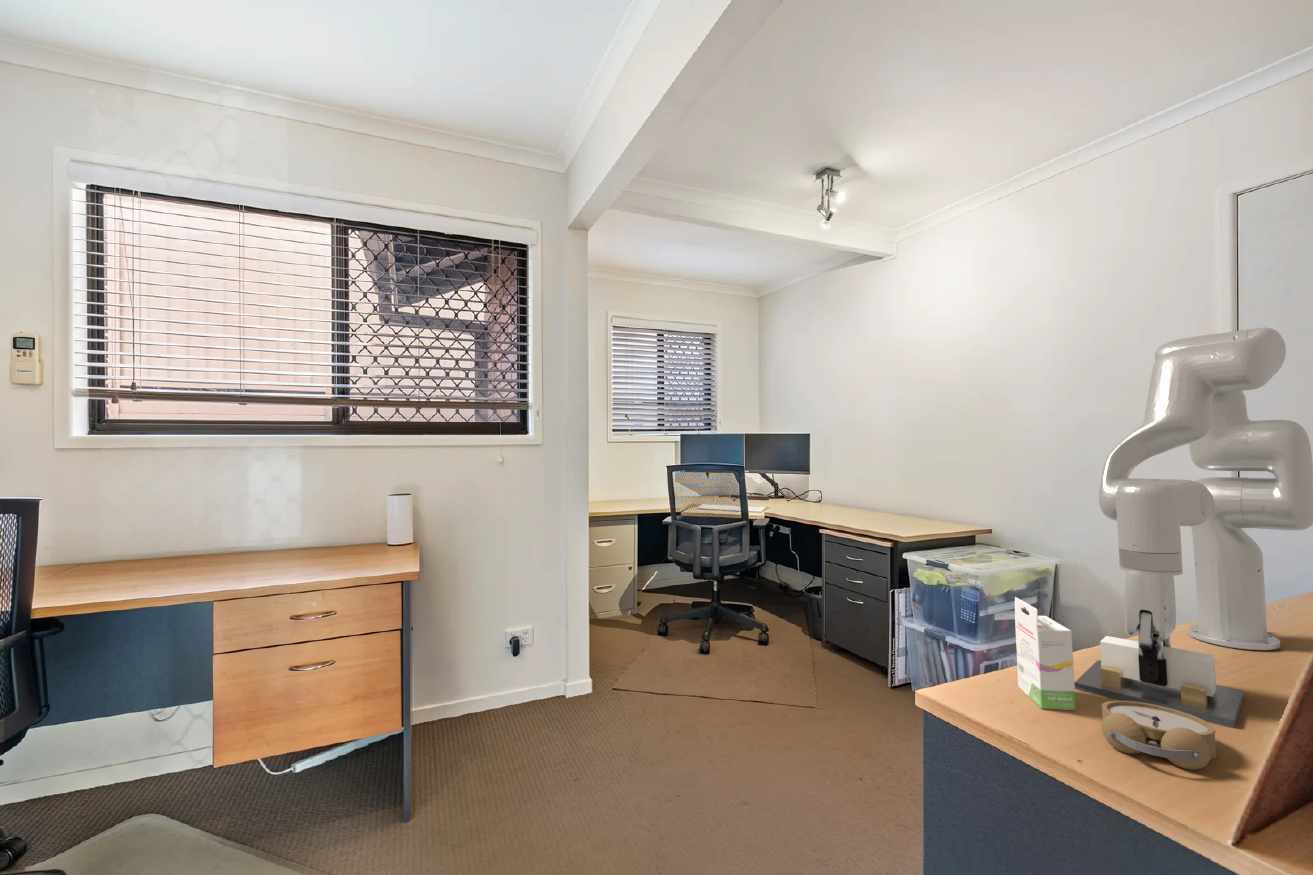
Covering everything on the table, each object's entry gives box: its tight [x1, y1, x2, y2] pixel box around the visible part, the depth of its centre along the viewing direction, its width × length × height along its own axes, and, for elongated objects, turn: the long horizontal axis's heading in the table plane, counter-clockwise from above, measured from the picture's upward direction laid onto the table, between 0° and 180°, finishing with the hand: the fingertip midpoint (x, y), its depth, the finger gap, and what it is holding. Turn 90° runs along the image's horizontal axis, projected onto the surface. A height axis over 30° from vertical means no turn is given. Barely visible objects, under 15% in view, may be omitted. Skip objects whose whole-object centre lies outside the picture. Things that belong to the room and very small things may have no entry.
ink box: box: [1014, 596, 1077, 711], centre depth 88 cm, size 9×5×15 cm, turn 168°
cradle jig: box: [1074, 659, 1246, 729], centre depth 89 cm, size 14×18×4 cm
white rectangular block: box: [1099, 635, 1217, 697], centre depth 89 cm, size 4×13×5 cm, turn 40°
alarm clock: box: [1101, 700, 1218, 771], centre depth 73 cm, size 11×5×15 cm
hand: (1156, 677), depth 89 cm, fingers closed on white rectangular block, 4 cm apart
